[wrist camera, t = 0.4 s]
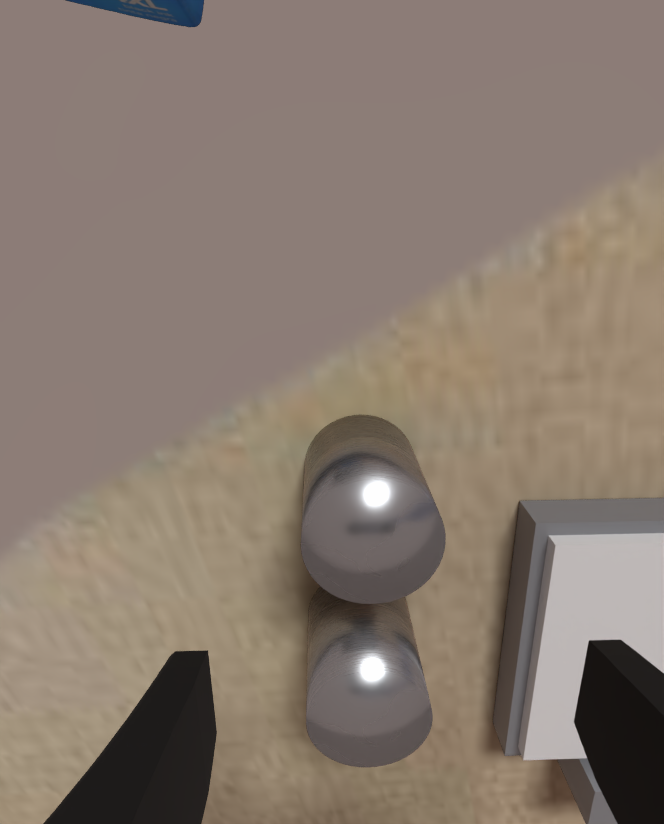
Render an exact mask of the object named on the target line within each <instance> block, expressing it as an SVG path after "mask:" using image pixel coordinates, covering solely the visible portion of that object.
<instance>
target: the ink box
mask: <svg viewBox="0 0 664 824" xmlns="http://www.w3.org/2000/svg"><path fill="white" fill-rule="evenodd" d="M67 1H70V2H75V3H78V4H83V5H88V6H92V7H96V8H100V9H104V10H109V11H114V12H118V13H122V14H126V15H130V16H135V17H140V18H144V19H149V20H154V21H159V22H164V23H169V24H174V25H181V26H187V27H196V26H198V25H199V24H200V22H201V18H202V12H203V4H204V0H67Z"/></svg>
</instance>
